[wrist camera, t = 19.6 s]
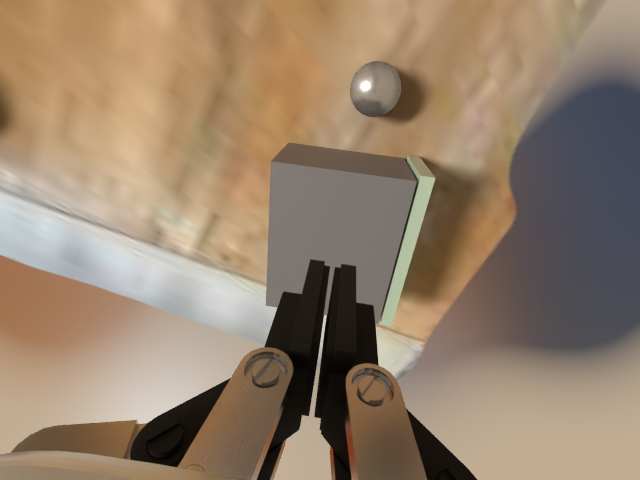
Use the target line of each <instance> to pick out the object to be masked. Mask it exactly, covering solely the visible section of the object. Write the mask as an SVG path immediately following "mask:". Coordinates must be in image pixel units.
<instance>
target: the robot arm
mask: <svg viewBox="0 0 640 480" xmlns="http://www.w3.org/2000/svg"><path fill="white" fill-rule="evenodd" d="M329 272H330V266H326V265H325V261H319V260H313V259H310V262H309V267H308V271H307V275H306V279H305V283H304V287H303V291H302V294H298V293H291V292H285V291H284V292H283V294H282V296H281V299H280V302H279V305H278V308H277V311H276V314H275V317H274V320H273V323H272V326H271V329H270V332H269V335H268V338H267V341H266V344H265V347H264V348H259V349H256V350H253V351H251V352H250V353H249V354H247V355H246V356H245V357H244V358H243V359H242V361H241V362H240V364H239V365H238V367H237V369H236V370H235V372H234V374H233V375H232V377H231V378H230V379H228V380H226V381H224V382H222V383H220V384H219V385H217V386H215V387H213V388H211V389H209V390H207V391H205V392H203V393H201V394H199V395H198V396H196V397H194V398H192V399H190V400H188V401H186V402H184V403H183V404H180V405H179V406H177V407H175V408H173V409H171V410H169V411H167V412H165V413H163V414H161V415H160V416H158V417H156V418H154V419H153V420H152V421H150V422H149V423H147V424H138V422H137V420H132V421H116V422H102V423H88V424H73V425H58V426H52V427H48V428H44V429H41V430H39V431H37V432H35V433H33V434H31V435H29V436H28V437H27V438H25V439H24V440H23V441H22V442H20V443H19V444H18V445H17V446H16V447H15V448H14V449H13V451H12V452H11V453H7V454H1V455H0V480H273V479H274V476H275V473H276V470H277V467H278V464H279V461H280V458H281V455H282V452H283V449H284V447H285V441H286V439H287V438H288V437H290V436H291V435H292V434H294V433H295V432H297V431H298V430H299V427H300V423H301V417H302V415H306V416H309V411H310V405H311V398H312V392H313V385H314V379H315V373H316V366H317V360H318V353H319V346H320V339H321V332H322V324H323V317H324V309H325V302H326V294H327V287H328V279H329ZM315 417H317V418H321V424H320V430H321V434H322V435H323V437H324V438H325V439H326V441H327V442H328V443H329V445H330V460H331V475H332V480H477V479H476V478H475V476H474V475H473V474H472V473H471V472H470V470H469V469H468V468H467V467H466V466H465V465H464V464H463V463H461V462H460V461H459V460H458V459H457V458H456V457H455V456H454V455H453V454H452V453H451V452H450V451H449V450H448V449H447V448H446V447H445V446H444V445H443V444H442V443H441V442H440V441H439V440H438V439H437V438H436V437H435V436H434V435H433V434H432V433H431V432H430V431H429V430H428V429H426V428H425V426H423V425H422V424H421V423H420V422H419V421H418V420H417V419H416V418H415V417H414V416H413V415H412V414H411V413H410V412H409V411H408V410H407V409H406V407H405V403H404V401H403V397H402V394H401V390H400V387H399V385H398V383H397V380H396V379H395V378H394V377H393V375H392V374H391V373H390V372H388V371H387V370H386V369H384V368H383V367H380V366H378V354H377V341H376V328H375V315H374V306H373V305H369V304H363V303H356V266H353V265H346V264H341V268H339V267H335V269H334V276H333V282H332V288H331V294H330V300H329V307H328V313H327V319H326V326H325V333H324V341H323V350H322V358H321V366H320V374H319V383H318V391H317V399H316V407H315Z"/></svg>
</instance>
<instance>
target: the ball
mask: <svg viewBox="0 0 640 480" xmlns="http://www.w3.org/2000/svg"><path fill="white" fill-rule="evenodd" d="M350 94H351V99H352V102H353V104H354V106H355V108H356V109H357V110H358V111H359V112H360V113H362V114H364V115H366V116H370V117H378V116H382V115H384V114H386V113H388V112H389V111H390V110H392V109H393V107H394V106H395V105H396V103H397V102H398V100H399V97H400V94H401V80H400V77H399V75H398V73H397V71H396V70H395V69H394V68H393V67H392V66H391V65H390V64H388V63H385V62H381V61H374V62H370V63H368V64H366V65H364V66H363V67H361V68H360V69H359V70H358V71H357V73H356V74H355V76H354V78H353V80H352V83H351V88H350Z"/></svg>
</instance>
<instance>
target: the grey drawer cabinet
mask: <svg viewBox="0 0 640 480" xmlns="http://www.w3.org/2000/svg"><path fill="white" fill-rule="evenodd" d="M416 183H417V181H416V179H415V177H414V175H413V174H412V172H411V170H410V168H409V166H408V165H407V163H406V161H405V159H404V158H397V157H389V156H382V155H374V154H367V153H360V152H352V151H345V150H338V149H330V148H323V147H316V146H308V145H301V144H294V143H288V144H287V145H286V146H285V147H284V148H283V149H282V150H281V151H280V152H279V154H278V155H277V156H276V157H275V158H274V159H273V160H272V161H271V177H270V205H269V234H268V263H267V291H266V306H272V307H278V305H279V302H280V299H281V296H282V294H283V292H284V291H285V292H291V293H298V294H302V291H303V287H304V283H305V279H306V275H307V271H308V267H309V262H310V259H313V260H319V261H325V265H326V266H330V272H329V279H328V287H327V294H326V302H325V309H324V315H327V313H328V307H329V300H330V294H331V288H332V282H333V276H334V269H335V267H339V268H341V264H346V265H353V266H356V303H363V304H369V305H373V306H374V315H375V323H379V320H380V316H381V312H382V309H383V305H384V301H385V298H386V294H387V290H388V287H389V283H390V279H391V275H392V272H393V268H394V264H395V261H396V257H397V253H398V250H399V246H400V242H401V239H402V235H403V231H404V227H405V224H406V220H407V216H408V213H409V209H410V205H411V202H412V198H413V194H414V191H415V187H416Z"/></svg>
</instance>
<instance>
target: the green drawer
mask: <svg viewBox="0 0 640 480" xmlns="http://www.w3.org/2000/svg"><path fill="white" fill-rule="evenodd" d="M406 163H407V165H408V166H409V168H410V170H411V172H412V174H413V175H414V177H415V179H416V181H417V183H416V187H415V191H414V194H413V198H412V202H411V205H410V209H409V213H408V216H407V220H406V224H405V227H404V231H403V235H402V239H401V242H400V246H399V250H398V253H397V257H396V261H395V264H394V268H393V272H392V275H391V279H390V283H389V287H388V290H387V294H386V298H385V301H384V305H383V309H382V312H381V316H380V325H385V326H392V322H393V319H394V316H395V312H396V309H397V305H398V302H399V299H400V295H401V292H402V289H403V285H404V282H405V279H406V275H407V272H408V269H409V265H410V262H411V259H412V255H413V252H414V249H415V245H416V242H417V239H418V235H419V232H420V229H421V225H422V222H423V219H424V215H425V212H426V209H427V205H428V202H429V198H430V195H431V192H432V188H433V185H434V182H435V176H434V175H433V174H432V172H431V171H430V170H429V168H428V167H427V166H426V165H425V163H424V162H423V161H422V159H421V158H420V157H417V156H410V155H408V156H407V160H406Z"/></svg>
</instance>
